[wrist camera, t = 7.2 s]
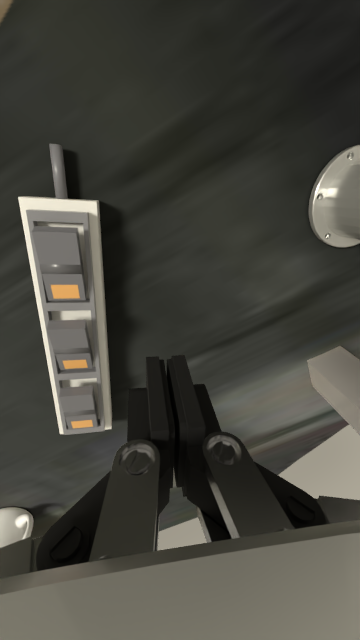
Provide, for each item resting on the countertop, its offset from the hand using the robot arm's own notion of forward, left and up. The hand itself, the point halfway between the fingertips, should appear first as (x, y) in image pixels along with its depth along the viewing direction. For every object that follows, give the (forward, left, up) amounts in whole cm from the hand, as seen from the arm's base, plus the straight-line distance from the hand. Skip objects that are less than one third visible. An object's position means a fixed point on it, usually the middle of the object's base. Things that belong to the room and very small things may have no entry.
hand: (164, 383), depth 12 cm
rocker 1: (+8, 0, -21) cm, 22 cm away
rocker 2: (+8, +10, -21) cm, 25 cm away
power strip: (+8, +8, -26) cm, 28 cm away
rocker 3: (+8, +20, -21) cm, 30 cm away
